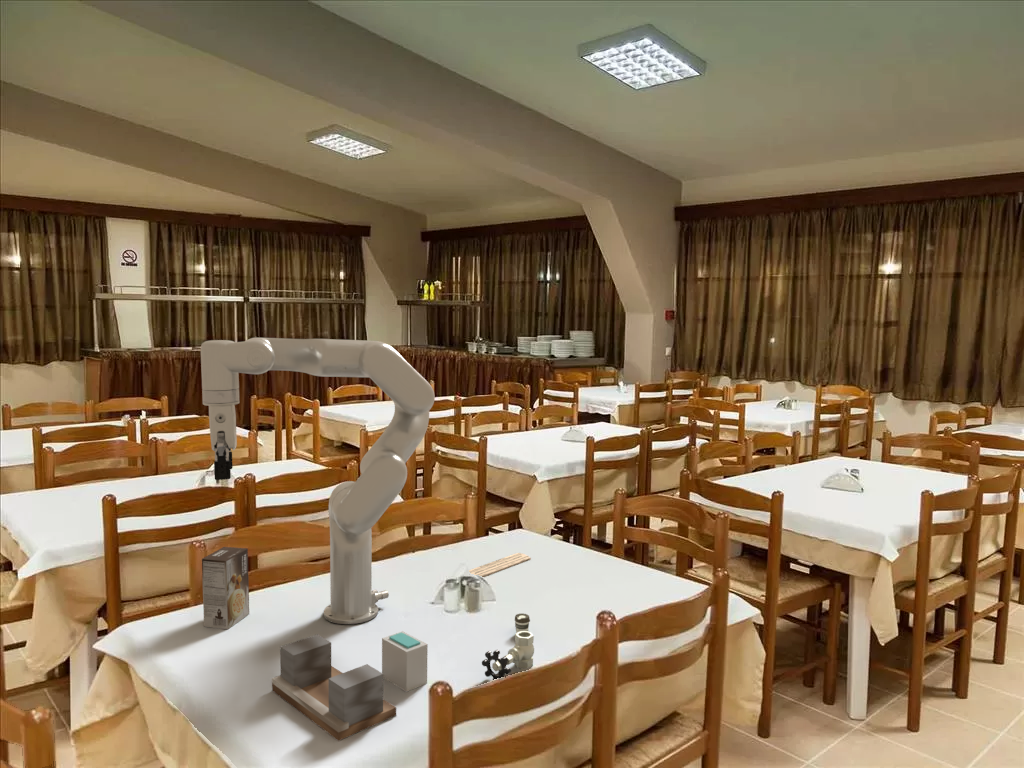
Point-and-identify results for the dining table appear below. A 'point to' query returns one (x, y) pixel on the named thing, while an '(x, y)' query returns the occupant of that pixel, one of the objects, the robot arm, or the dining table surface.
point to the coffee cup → (522, 622)
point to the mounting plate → (330, 689)
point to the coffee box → (225, 587)
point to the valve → (511, 656)
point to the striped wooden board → (500, 565)
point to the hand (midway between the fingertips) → (223, 474)
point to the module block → (404, 661)
